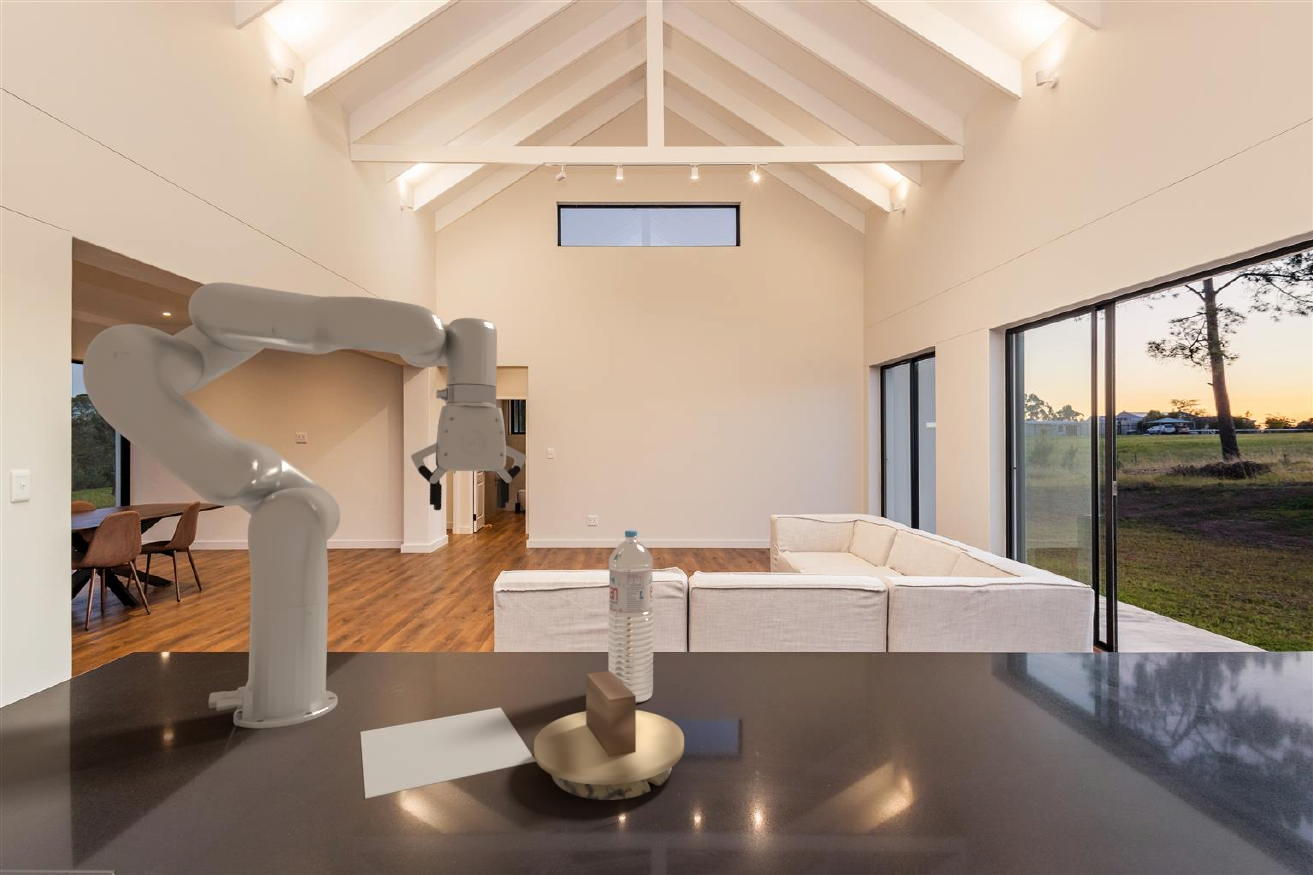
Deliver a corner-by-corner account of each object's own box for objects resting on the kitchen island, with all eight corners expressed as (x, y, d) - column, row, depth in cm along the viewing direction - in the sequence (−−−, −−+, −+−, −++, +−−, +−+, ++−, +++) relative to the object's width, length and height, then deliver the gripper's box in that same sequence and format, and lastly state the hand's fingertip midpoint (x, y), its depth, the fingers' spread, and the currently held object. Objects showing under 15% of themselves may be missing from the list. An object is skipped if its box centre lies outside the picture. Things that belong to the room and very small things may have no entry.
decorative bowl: (585, 741, 81) (516, 796, 67) (586, 712, 81) (517, 760, 67) (694, 763, 75) (644, 829, 61) (694, 732, 75) (644, 790, 61)
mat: (365, 803, 64) (365, 798, 64) (360, 736, 80) (360, 731, 80) (535, 765, 72) (535, 760, 72) (500, 711, 88) (500, 707, 88)
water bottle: (647, 706, 90) (648, 533, 91) (602, 703, 91) (603, 532, 93) (657, 690, 97) (657, 529, 98) (614, 686, 98) (615, 528, 99)
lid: (552, 798, 60) (553, 724, 60) (521, 729, 75) (521, 671, 76) (710, 765, 66) (709, 699, 67) (651, 708, 82) (651, 654, 82)
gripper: (415, 393, 90) (412, 512, 89) (532, 399, 98) (531, 508, 97) (409, 398, 96) (407, 509, 96) (520, 403, 104) (519, 505, 103)
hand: (469, 508), depth 96 cm, fingers open, 9 cm apart
